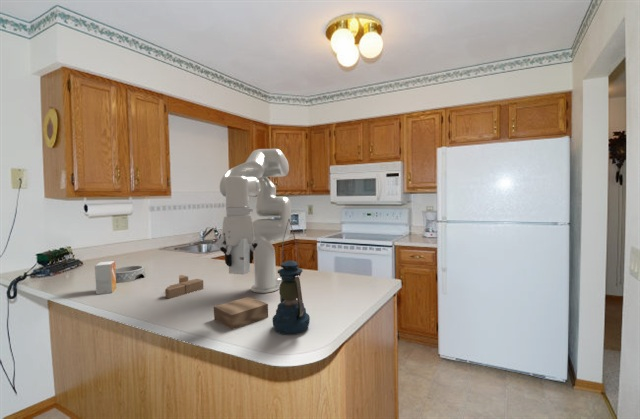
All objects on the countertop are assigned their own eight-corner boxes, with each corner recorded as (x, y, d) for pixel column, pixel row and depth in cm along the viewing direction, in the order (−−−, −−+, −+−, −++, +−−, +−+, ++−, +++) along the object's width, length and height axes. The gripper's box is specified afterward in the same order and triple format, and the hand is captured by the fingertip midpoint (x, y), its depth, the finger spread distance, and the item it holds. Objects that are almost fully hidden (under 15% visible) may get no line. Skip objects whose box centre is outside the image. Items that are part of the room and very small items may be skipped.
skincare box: (228, 273, 111) (227, 238, 110) (235, 270, 115) (234, 236, 115) (244, 275, 109) (243, 239, 109) (251, 271, 113) (250, 237, 113)
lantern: (265, 324, 107) (262, 218, 105) (297, 316, 113) (294, 216, 112) (284, 340, 95) (281, 221, 93) (318, 331, 101) (316, 218, 100)
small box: (112, 292, 146) (111, 264, 146) (95, 294, 144) (94, 265, 143) (116, 288, 154) (115, 260, 153) (101, 289, 152) (99, 261, 151)
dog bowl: (98, 282, 166) (97, 272, 165) (128, 273, 183) (128, 264, 183) (124, 284, 161) (124, 273, 161) (153, 275, 178) (153, 265, 178)
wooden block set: (205, 277, 150) (168, 287, 135) (205, 289, 151) (168, 300, 136) (183, 272, 160) (146, 281, 145) (183, 283, 160) (147, 293, 145)
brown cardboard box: (249, 309, 122) (248, 296, 122) (268, 317, 114) (267, 303, 114) (214, 320, 112) (213, 306, 112) (232, 330, 104) (231, 315, 104)
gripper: (256, 210, 119) (258, 259, 120) (208, 213, 109) (210, 266, 110) (265, 211, 113) (267, 262, 114) (216, 214, 103) (218, 270, 104)
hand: (239, 263), depth 112 cm, fingers closed on skincare box, 6 cm apart
